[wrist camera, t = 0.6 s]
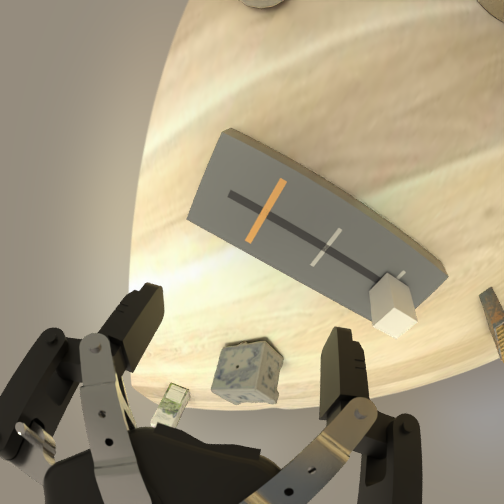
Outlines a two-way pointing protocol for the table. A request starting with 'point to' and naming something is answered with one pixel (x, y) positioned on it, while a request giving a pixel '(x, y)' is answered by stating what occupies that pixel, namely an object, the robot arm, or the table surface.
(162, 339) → the table surface
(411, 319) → the fader knob
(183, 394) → the syrup box
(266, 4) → the salt shaker
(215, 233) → the fader console
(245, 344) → the incense holder
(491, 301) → the rusty notched block
